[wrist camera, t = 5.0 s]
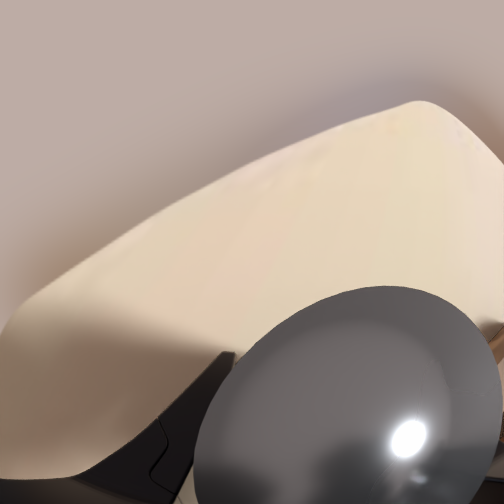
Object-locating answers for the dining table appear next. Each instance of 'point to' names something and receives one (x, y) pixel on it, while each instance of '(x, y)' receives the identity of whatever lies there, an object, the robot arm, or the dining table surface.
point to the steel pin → (356, 407)
